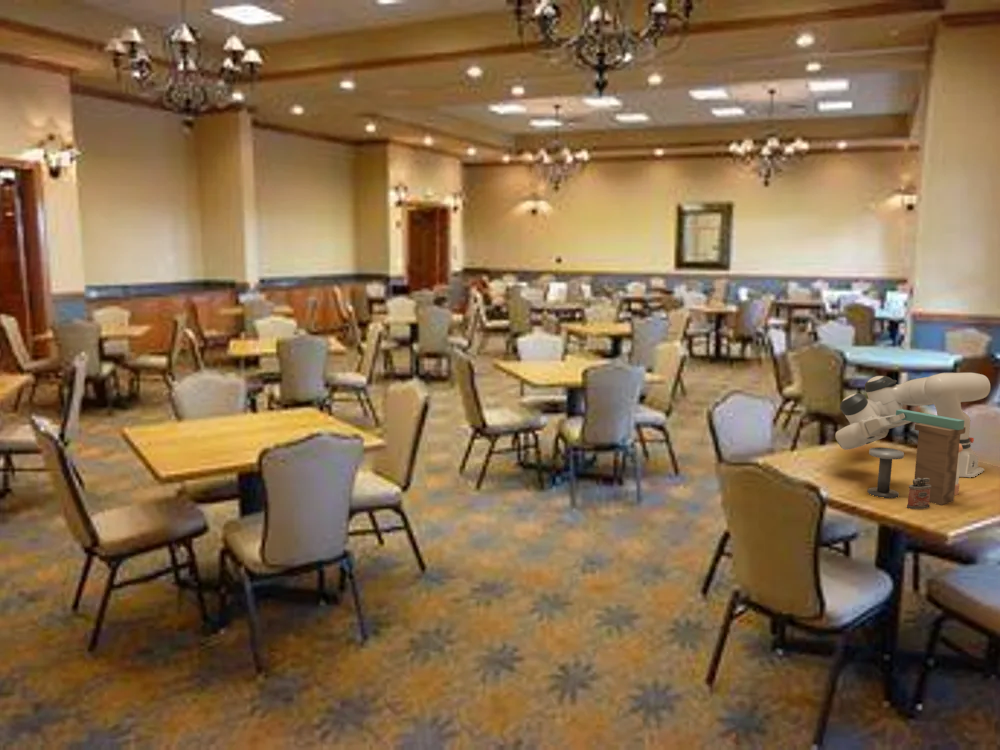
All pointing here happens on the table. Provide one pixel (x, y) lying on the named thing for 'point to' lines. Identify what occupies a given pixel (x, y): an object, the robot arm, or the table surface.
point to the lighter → (919, 494)
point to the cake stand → (885, 471)
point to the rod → (932, 419)
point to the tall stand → (938, 460)
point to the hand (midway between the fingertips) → (908, 414)
